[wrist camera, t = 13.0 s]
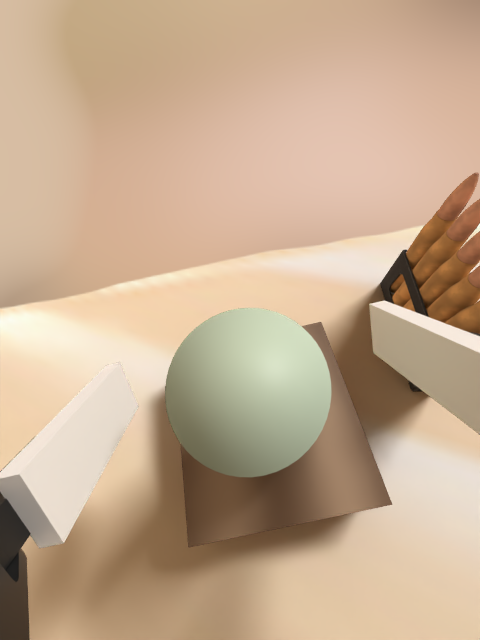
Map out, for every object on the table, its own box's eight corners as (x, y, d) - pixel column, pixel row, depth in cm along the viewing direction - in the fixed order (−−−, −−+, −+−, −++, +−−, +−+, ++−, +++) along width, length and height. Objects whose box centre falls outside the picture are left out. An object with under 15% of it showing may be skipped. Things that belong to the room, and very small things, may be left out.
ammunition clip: (435, 391, 20) (605, 329, 10) (411, 391, 21) (551, 331, 10) (399, 281, 25) (488, 160, 15) (379, 282, 26) (453, 164, 15)
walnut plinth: (314, 340, 24) (321, 321, 20) (369, 493, 18) (392, 504, 15) (189, 369, 24) (174, 356, 20) (205, 528, 18) (188, 547, 15)
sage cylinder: (291, 374, 18) (300, 292, 9) (314, 450, 16) (360, 454, 6) (224, 390, 19) (161, 327, 9) (237, 467, 16) (170, 496, 7)
